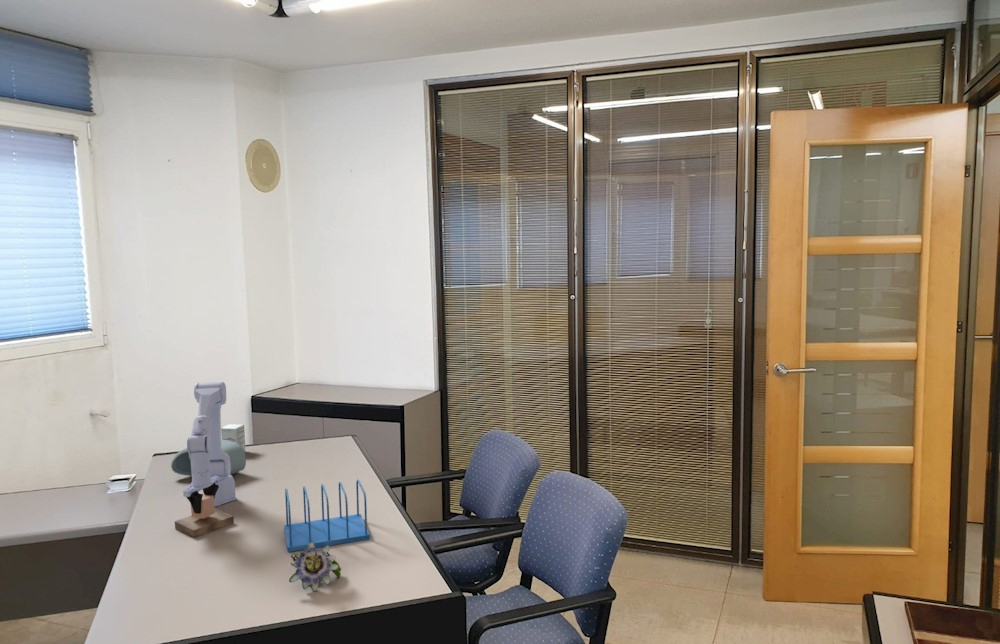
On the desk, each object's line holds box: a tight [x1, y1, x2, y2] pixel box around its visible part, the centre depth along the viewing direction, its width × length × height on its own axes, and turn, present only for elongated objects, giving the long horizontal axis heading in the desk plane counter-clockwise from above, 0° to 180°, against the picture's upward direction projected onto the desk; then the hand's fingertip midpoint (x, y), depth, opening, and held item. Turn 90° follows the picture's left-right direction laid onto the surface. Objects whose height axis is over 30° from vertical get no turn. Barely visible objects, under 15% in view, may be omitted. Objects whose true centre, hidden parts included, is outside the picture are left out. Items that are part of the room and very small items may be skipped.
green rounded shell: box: [170, 438, 247, 477], centre depth 278 cm, size 22×19×13 cm
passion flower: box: [288, 542, 342, 593], centre depth 193 cm, size 13×12×14 cm
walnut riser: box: [174, 507, 235, 539], centre depth 232 cm, size 14×12×2 cm
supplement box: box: [221, 423, 246, 453], centre depth 307 cm, size 7×7×13 cm
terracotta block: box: [190, 493, 215, 519], centre depth 231 cm, size 5×5×6 cm
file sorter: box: [283, 479, 371, 553], centre depth 223 cm, size 25×17×15 cm
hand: (203, 509), depth 231 cm, fingers closed on terracotta block, 5 cm apart
